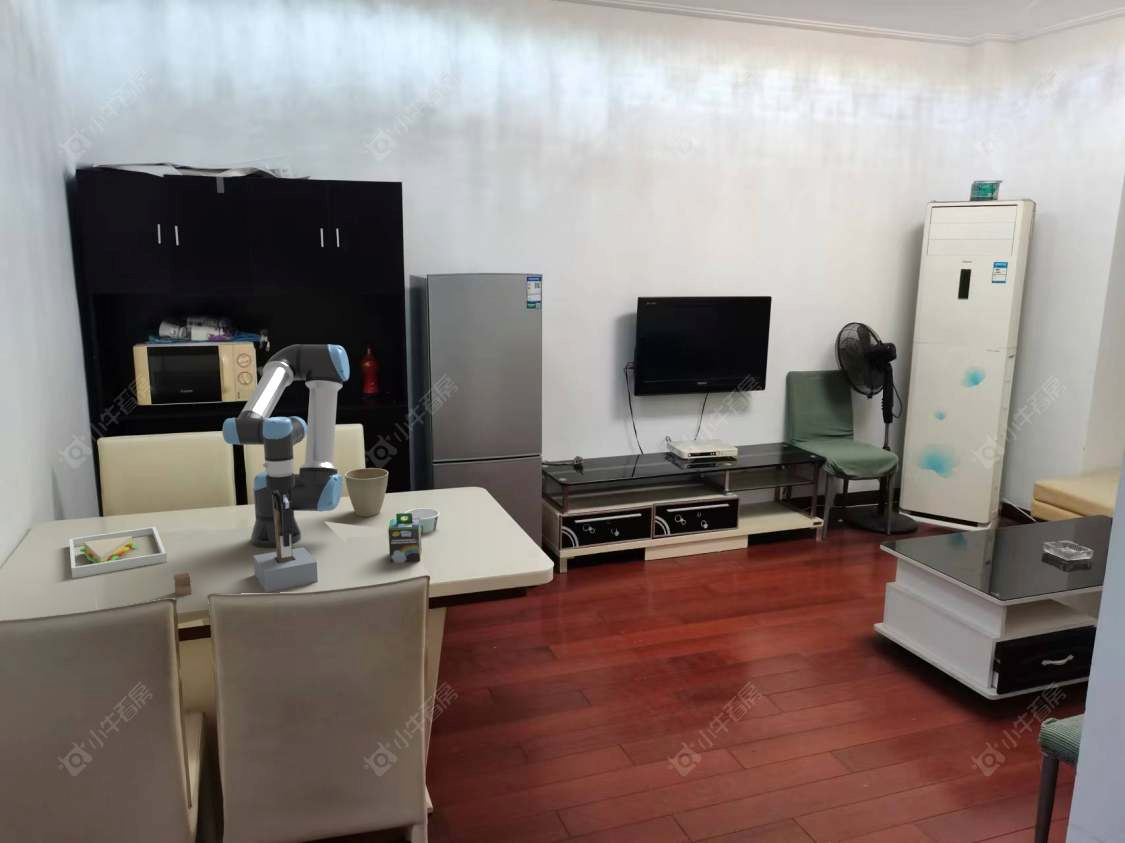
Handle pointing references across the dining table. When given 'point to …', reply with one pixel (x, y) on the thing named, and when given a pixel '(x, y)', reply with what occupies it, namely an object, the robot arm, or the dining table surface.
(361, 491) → the plant pot
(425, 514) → the food container
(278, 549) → the long wooden block
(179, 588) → the short pin
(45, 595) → the dining table surface
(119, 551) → the sandwich
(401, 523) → the chalk box
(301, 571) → the hole block
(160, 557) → the sandwich plate rim
